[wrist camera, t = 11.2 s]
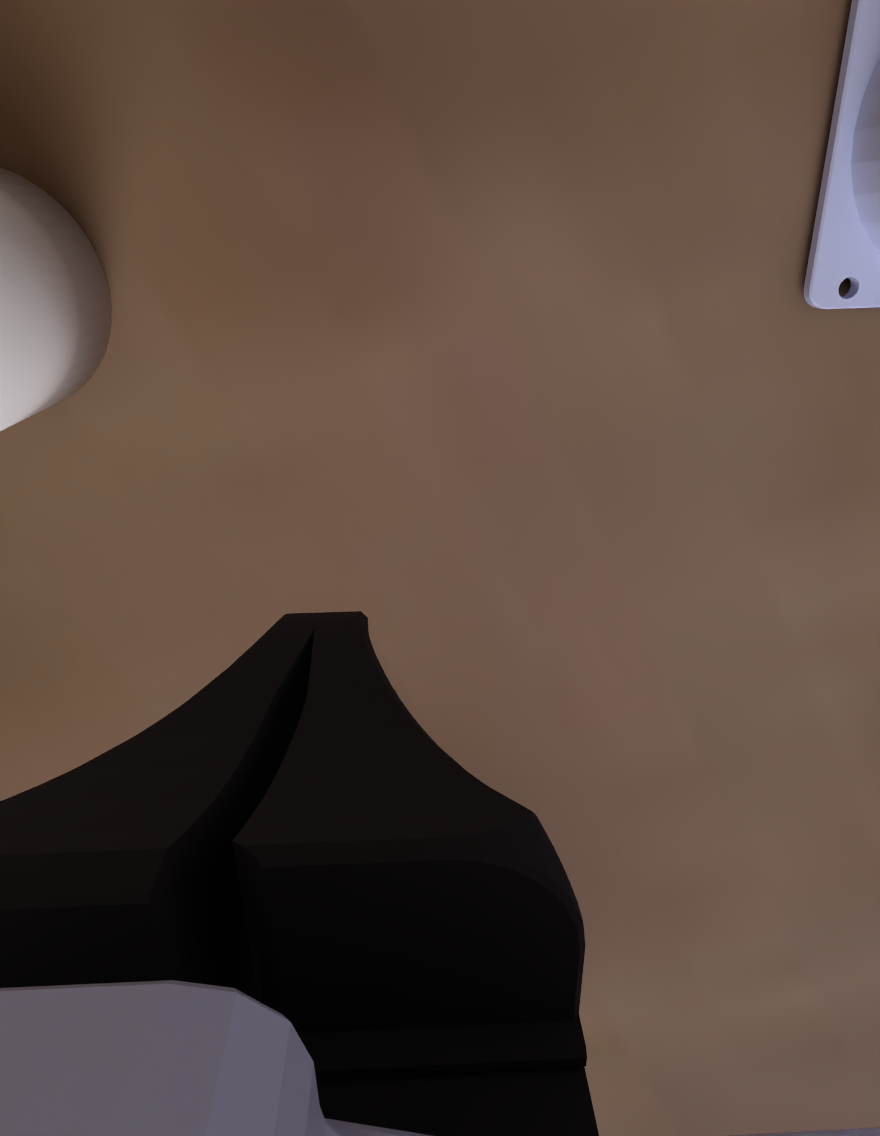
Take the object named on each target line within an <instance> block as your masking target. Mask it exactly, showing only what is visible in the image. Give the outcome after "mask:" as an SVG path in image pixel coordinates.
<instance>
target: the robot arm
mask: <svg viewBox="0 0 880 1136" xmlns="http://www.w3.org/2000/svg"><path fill="white" fill-rule="evenodd" d="M846 278H848V279H849V280H850V282H851V287H850V290H849V292H848V293H847V294H846V295H845V296H843V297H841V296H840V295H839V290H838V288H839V286H840V284H841V282H842V281H843V280H844V279H846ZM804 297H805V300H806V302H807V303H808V304H809V305H811V306H812V307H817V308H822V309H842V308H871V307H880V0H852V4H851V10H850V15H849V21H848V27H847V33H846V39H845V45H844V51H843V57H842V63H841V69H840V75H839V81H838V87H837V93H836V99H835V105H834V111H833V117H832V123H831V129H830V135H829V141H828V147H827V153H826V159H825V165H824V171H823V177H822V182H821V188H820V194H819V200H818V206H817V212H816V218H815V224H814V230H813V236H812V242H811V248H810V254H809V260H808V266H807V272H806V278H805V284H804ZM584 953H585V937H584V926H583V920H582V916H581V912H580V909H579V906H578V902H577V900H576V897H575V894H574V892H573V889H572V887H571V884H570V882H569V879H568V877H567V874H566V872H565V870H564V867H563V865H562V863H561V861H560V859H559V857H558V855H557V853H556V851H555V849H554V847H553V845H552V843H551V841H550V839H549V837H548V836H547V834H546V832H545V830H544V828H543V826H542V825H541V823H540V821H539V819H538V818H537V816H536V815H535V814H534V813H533V812H532V811H531V810H529V809H527V808H525V807H524V806H522V805H520V804H518V803H516V802H515V801H513V800H511V799H509V798H508V797H506V796H504V795H502V794H501V793H499V792H497V791H495V790H493V789H492V788H490V787H488V786H487V785H485V784H484V783H482V782H481V781H480V780H478V779H477V778H475V777H474V776H473V775H471V774H470V773H468V772H467V771H466V770H465V769H464V768H462V767H461V766H460V765H459V764H458V763H457V762H456V761H455V760H453V759H452V758H451V757H450V756H449V755H448V754H447V753H446V752H444V751H443V750H442V749H441V748H440V747H439V746H438V745H437V744H436V743H435V742H434V741H433V740H432V739H431V737H430V736H429V735H428V734H427V733H426V732H425V731H424V730H423V729H422V727H421V726H420V725H419V724H418V723H417V721H416V720H415V719H414V718H413V716H412V715H411V714H410V712H409V711H408V710H407V708H406V707H405V706H404V704H403V703H402V701H401V700H400V698H399V697H398V695H397V693H396V692H395V690H394V689H393V687H392V686H391V684H390V682H389V680H388V678H387V677H386V675H385V673H384V671H383V669H382V667H381V665H380V663H379V661H378V659H377V657H376V654H375V652H374V649H373V647H372V644H371V641H370V638H369V632H368V618H367V617H366V616H365V615H364V614H363V613H362V612H361V611H357V612H326V613H294V614H285V615H284V616H283V617H282V618H281V619H280V620H278V621H277V622H276V623H275V624H274V625H273V626H272V627H271V628H270V629H269V630H268V631H267V632H266V633H265V634H264V635H263V636H262V637H261V638H260V639H259V640H258V641H257V642H256V643H255V644H254V645H253V646H251V647H250V648H249V649H248V650H247V651H246V652H245V653H244V654H243V655H242V656H241V657H239V658H238V659H237V660H236V661H235V662H234V663H233V664H232V665H231V666H230V667H229V668H227V669H226V670H225V671H224V672H223V673H221V674H220V675H219V676H218V677H216V678H215V679H214V680H213V681H211V682H210V683H209V684H208V685H207V686H205V687H204V688H203V689H202V690H200V691H199V692H198V693H197V694H195V695H194V696H193V697H192V698H191V699H189V700H188V701H187V702H185V703H184V704H183V705H181V706H180V707H178V708H177V709H176V710H174V711H173V712H171V713H170V714H168V715H167V716H166V717H164V718H162V719H161V720H159V721H158V722H156V723H155V724H153V725H152V726H150V727H149V728H147V729H145V730H144V731H142V732H141V733H139V734H138V735H136V736H134V737H133V738H131V739H129V740H127V741H125V742H124V743H122V744H120V745H118V746H116V747H114V748H113V749H111V750H109V751H107V752H105V753H103V754H101V755H100V756H98V757H96V758H94V759H92V760H90V761H89V762H87V763H85V764H83V765H81V766H79V767H77V768H75V769H73V770H71V771H69V772H67V773H65V774H63V775H60V776H58V777H56V778H54V779H52V780H50V781H47V782H45V783H43V784H41V785H39V786H36V787H34V788H31V789H29V790H27V791H24V792H22V793H20V794H17V795H15V796H13V797H10V798H8V799H5V800H3V801H0V1136H599V1134H598V1129H597V1125H596V1120H595V1115H594V1110H593V1106H592V1101H591V1096H590V1092H589V1087H588V1082H587V1077H586V1073H585V1068H584V1066H586V1061H587V1054H586V1045H585V1040H584V1036H583V1031H582V1027H581V1022H580V1017H579V1004H580V994H581V984H582V974H583V964H584ZM730 1136H880V1127H879V1128H860V1129H842V1130H823V1131H805V1132H786V1133H768V1134H749V1135H730Z"/></svg>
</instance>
